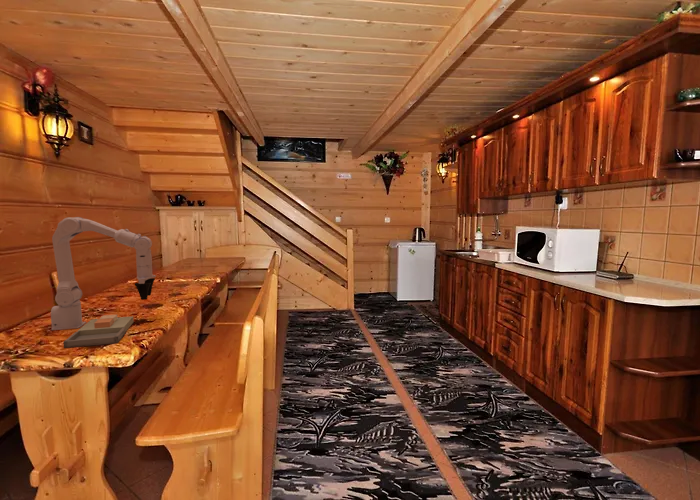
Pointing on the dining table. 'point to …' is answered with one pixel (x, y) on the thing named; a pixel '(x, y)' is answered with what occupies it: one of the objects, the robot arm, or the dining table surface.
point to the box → (93, 339)
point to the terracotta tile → (103, 323)
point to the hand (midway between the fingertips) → (146, 297)
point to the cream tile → (109, 317)
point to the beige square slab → (114, 328)
